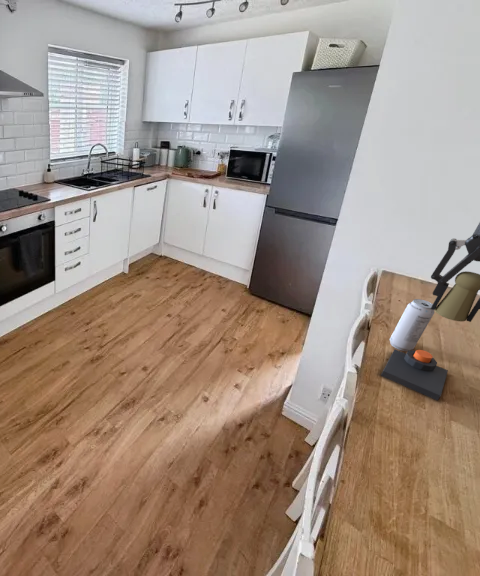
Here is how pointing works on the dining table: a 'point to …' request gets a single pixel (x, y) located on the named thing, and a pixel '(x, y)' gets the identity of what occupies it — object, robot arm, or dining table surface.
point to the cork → (460, 297)
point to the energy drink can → (412, 325)
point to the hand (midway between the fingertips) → (450, 313)
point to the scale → (415, 373)
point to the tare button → (423, 356)
